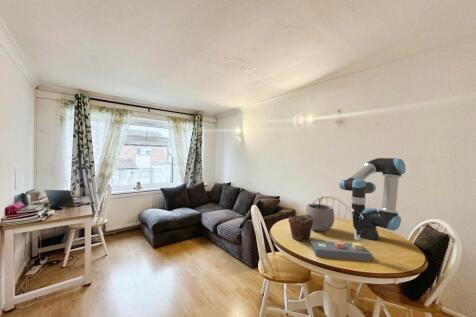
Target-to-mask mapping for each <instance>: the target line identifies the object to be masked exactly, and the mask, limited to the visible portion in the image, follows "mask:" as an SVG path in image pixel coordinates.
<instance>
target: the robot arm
mask: <svg viewBox="0 0 476 317" xmlns="http://www.w3.org/2000/svg"><path fill="white" fill-rule="evenodd" d="M404 161H405V160H403V159H402V158H399V157H398V158H397V157H396V158H395V157H390V158H389V157H378V158H377V157H376V158H374V159H371V160H369V161H367V162H366V163H364V164H363V166H362V168H360V169H359V170H357V171H356V172H355V173H353V174H352V175H351V176H350V177H349V178H347V179H340V180H339V184H338V187H339V188H340V190H343V191H349V192H351V198H350V199H351V202H352V203H351V209H352V210H353V211H351V215H352V225H353V228H354V240H359V241H360V240H361V238H362V239H366V240H371V241H377V240H378V241H379V238H380V237H379V232H378V229H377V227H379V228H382V229H384V230H385V229H386V230H390V231H397V230H398V229H400V226H401V224H402V217H401V216H400V215H399V212H398V211H397V200H398V199H397V198H398V189H399V179H400V178H402V175H404V174H406V164H405V162H404ZM375 173H381V174H382V176H383V177H384V180H383V192H382V200H381V208H379V209H377V208H375V207H366V194H372V193H375V192H376V190H377V189H376V188H377V187H376V184H374V182H372V181H366V179H367V178H368V177H370V175H373V174H375Z"/></svg>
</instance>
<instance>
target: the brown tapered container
mask: <svg viewBox="0 0 476 317" xmlns="http://www.w3.org/2000/svg"><path fill="white" fill-rule="evenodd" d="M287 222H288V223H289V227H290V232H291V238H292V239H293V240H295V241H298V242H307V241H309V240H310V237H311V233H312V232H311V231H312V225H313V218H312V216H311V215H305V214H301V215H296V216H294V215H292V216H291V215H289V217H288V219H287Z"/></svg>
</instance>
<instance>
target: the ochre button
mask: <svg viewBox="0 0 476 317" xmlns="http://www.w3.org/2000/svg"><path fill="white" fill-rule="evenodd" d="M351 244H352V248H353V249H354V250H363V246H364V245H363V244H361V242H354V241H353V242H351ZM362 245H363V246H362Z"/></svg>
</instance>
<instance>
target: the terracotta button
mask: <svg viewBox="0 0 476 317" xmlns="http://www.w3.org/2000/svg"><path fill="white" fill-rule="evenodd" d="M333 242H334V246H335V247H336V248H340V249H345V244H344V243H345V242H343V241H341V240H334V241H333Z"/></svg>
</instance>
